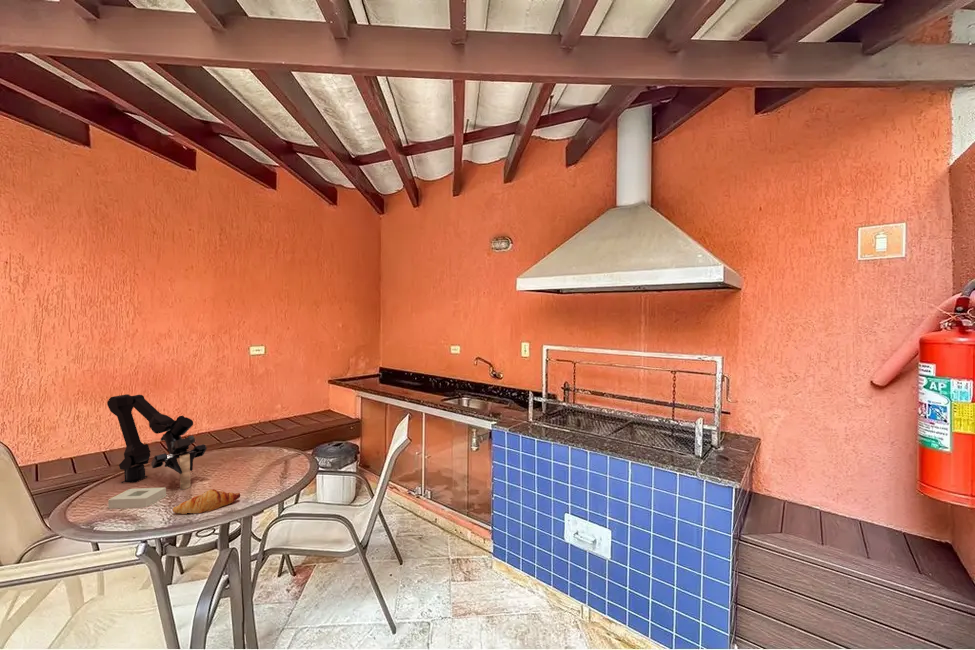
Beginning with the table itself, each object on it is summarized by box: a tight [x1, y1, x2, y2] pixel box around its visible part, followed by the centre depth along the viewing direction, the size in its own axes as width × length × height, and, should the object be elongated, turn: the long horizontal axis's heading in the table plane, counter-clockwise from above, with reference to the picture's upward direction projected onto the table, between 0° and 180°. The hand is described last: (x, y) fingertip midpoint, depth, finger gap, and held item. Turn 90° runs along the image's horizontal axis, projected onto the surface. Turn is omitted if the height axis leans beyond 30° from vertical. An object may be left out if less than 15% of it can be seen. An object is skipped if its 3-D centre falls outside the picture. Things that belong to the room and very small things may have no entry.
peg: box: [179, 454, 192, 491], centre depth 171 cm, size 4×4×14 cm
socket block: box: [107, 487, 167, 510], centre depth 157 cm, size 14×10×4 cm
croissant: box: [172, 488, 241, 515], centre depth 152 cm, size 21×10×8 cm, turn 121°
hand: (186, 471), depth 170 cm, fingers closed on peg, 3 cm apart
